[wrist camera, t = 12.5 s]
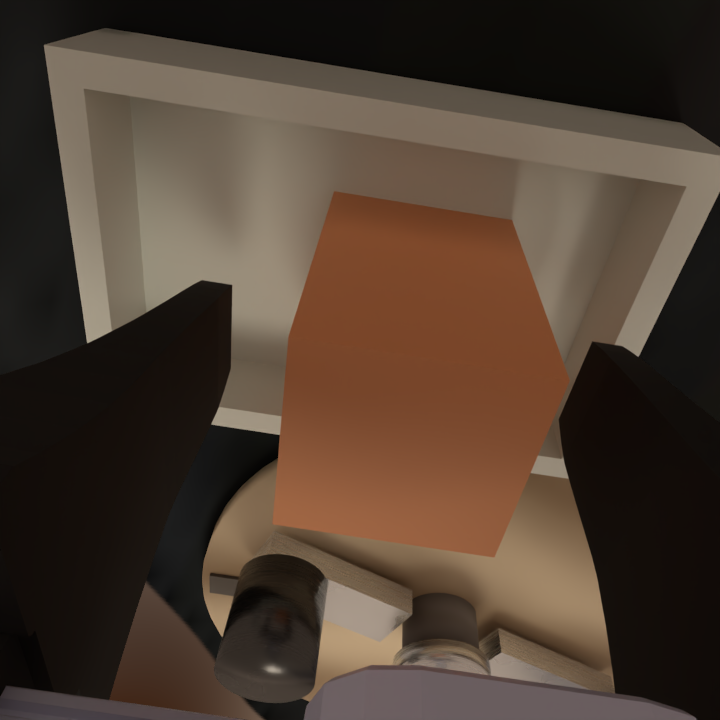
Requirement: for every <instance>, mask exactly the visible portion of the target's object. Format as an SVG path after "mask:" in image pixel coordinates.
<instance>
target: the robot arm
mask: <svg viewBox="0 0 720 720" xmlns="http://www.w3.org/2000/svg"><path fill="white" fill-rule="evenodd" d="M231 332H232V285H230V284H224V283H217V282H211V281H205V280H201V281H199V282H197V283H195V284H193V285H192V286H190V287H188V288H186V289H185V290H183V291H181V292H180V293H178V294H177V295H175V296H173V297H172V298H170V299H168V300H167V301H165V302H163V303H162V304H160V305H158V306H157V307H155V308H153V309H151V310H150V311H148V312H146V313H145V314H143V315H141V316H140V317H138V318H136V319H134V320H132V321H130V322H128V323H127V324H125V325H123V326H121V327H119V328H117V329H115V330H113V331H111V332H109V333H107V334H105V335H103V336H101V337H99V338H97V339H96V340H93V341H91V342H89V343H87V344H85V345H82V346H80V347H78V348H76V349H73V350H71V351H68V352H66V353H63V354H61V355H58V356H56V357H53V358H51V359H48V360H46V361H43V362H40V363H37V364H34V365H31V366H28V367H25V368H22V369H19V370H15V371H12V372H9V373H6V374H3V375H0V720H245V719H238V718H231V717H224V716H217V715H209V714H202V713H195V712H188V711H182V710H174V709H168V708H160V707H153V706H147V705H140V704H132V703H125V702H118V701H111V700H109V698H110V695H111V691H112V688H113V684H114V681H115V677H116V674H117V671H118V667H119V664H120V661H121V657H122V654H123V651H124V648H125V644H126V641H127V638H128V635H129V632H130V628H131V625H132V622H133V618H134V616H135V612H136V609H137V606H138V603H139V600H140V597H141V594H142V591H143V588H144V585H145V582H146V579H147V576H148V573H149V570H150V567H151V564H152V561H153V558H154V555H155V552H156V549H157V546H158V544H159V541H160V538H161V535H162V532H163V529H164V526H165V524H166V521H167V518H168V515H169V513H170V510H171V508H172V506H173V503H174V501H175V499H176V496H177V494H178V492H179V490H180V488H181V486H182V484H183V482H184V480H185V477H186V475H187V473H188V471H189V469H190V467H191V465H192V463H193V461H194V459H195V457H196V455H197V453H198V451H199V448H200V446H201V444H202V442H203V440H204V438H205V436H206V434H207V432H208V430H209V428H210V425H211V423H212V421H213V419H214V417H215V415H216V413H217V410H218V408H219V405H220V402H221V399H222V396H223V393H224V390H225V386H226V383H227V380H228V376H229V373H230V370H231ZM559 428H560V437H561V445H562V452H563V458H564V463H565V467H566V471H567V474H568V478H569V481H570V485H571V488H572V492H573V495H574V499H575V502H576V505H577V509H578V512H579V515H580V519H581V522H582V525H583V529H584V532H585V535H586V539H587V542H588V545H589V549H590V552H591V555H592V559H593V563H594V567H595V571H596V575H597V579H598V585H599V590H600V596H601V602H602V607H603V613H604V619H605V624H606V631H607V638H608V645H609V652H610V658H611V665H612V672H613V680H614V689H615V693H608V692H601V691H594V690H587V689H580V688H573V687H566V686H559V685H553V684H546V683H539V682H532V681H525V680H518V679H511V678H504V677H497V676H490V675H484V674H477V673H470V672H463V671H456V670H449V669H442V668H435V667H428V666H421V665H370V666H367V667H364V668H361V669H358V670H355V671H352V672H349V673H346V674H343V675H340V676H337V677H334V678H332V679H331V680H329V681H328V682H326V683H325V684H324V685H323V686H322V687H321V689H320V690H319V691H318V692H317V694H316V695H315V696H314V697H313V699H312V700H311V701H310V702H309V704H308V705H307V706H306V711H305V717H304V720H720V423H719V422H718V421H717V420H715V419H714V418H713V417H711V416H710V415H709V414H708V413H706V412H705V411H704V410H703V409H701V408H700V407H699V406H698V405H696V404H695V403H694V402H693V401H691V400H690V399H689V398H688V397H687V396H685V395H684V394H683V393H682V392H681V391H679V390H678V389H677V388H676V387H675V386H673V385H672V384H671V383H670V382H668V381H667V380H666V379H665V378H664V377H662V376H661V375H660V374H659V373H658V372H656V371H655V370H654V369H653V368H652V367H650V366H649V365H648V364H647V363H645V362H644V361H643V360H642V359H640V358H639V357H638V356H636V355H635V354H634V353H632V352H631V351H629V350H628V349H626V348H625V347H623V346H619V345H613V344H606V343H600V342H594V341H592V343H591V345H590V347H589V350H588V352H587V354H586V357H585V359H584V361H583V364H582V366H581V368H580V371H579V373H578V375H577V378H576V380H575V382H574V385H573V387H572V389H571V392H570V394H569V396H568V399H567V401H566V403H565V406H564V408H563V410H562V412H561V415H560V417H559Z"/></svg>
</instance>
